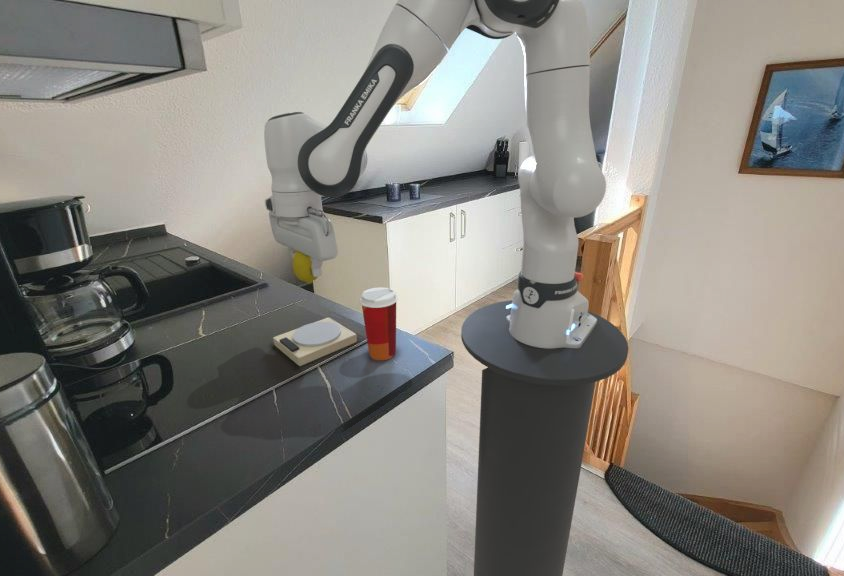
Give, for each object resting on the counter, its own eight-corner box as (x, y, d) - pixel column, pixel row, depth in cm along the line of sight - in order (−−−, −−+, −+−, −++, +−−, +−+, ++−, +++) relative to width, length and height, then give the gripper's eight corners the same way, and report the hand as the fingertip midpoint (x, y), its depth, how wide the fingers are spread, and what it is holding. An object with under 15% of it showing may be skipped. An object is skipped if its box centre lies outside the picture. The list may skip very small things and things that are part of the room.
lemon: (328, 280, 86) (323, 244, 83) (313, 290, 81) (308, 251, 78) (305, 277, 88) (300, 242, 84) (290, 287, 83) (283, 249, 80)
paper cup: (389, 340, 91) (386, 283, 86) (407, 355, 86) (404, 295, 80) (357, 351, 87) (352, 292, 82) (374, 367, 82) (369, 305, 76)
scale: (329, 324, 99) (328, 314, 98) (357, 341, 91) (356, 331, 90) (274, 345, 90) (272, 335, 89) (299, 366, 82) (297, 355, 81)
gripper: (341, 209, 73) (348, 280, 78) (289, 195, 87) (298, 257, 92) (309, 214, 69) (319, 289, 74) (260, 200, 83) (271, 263, 88)
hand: (307, 271), depth 83 cm, fingers closed on lemon, 5 cm apart
